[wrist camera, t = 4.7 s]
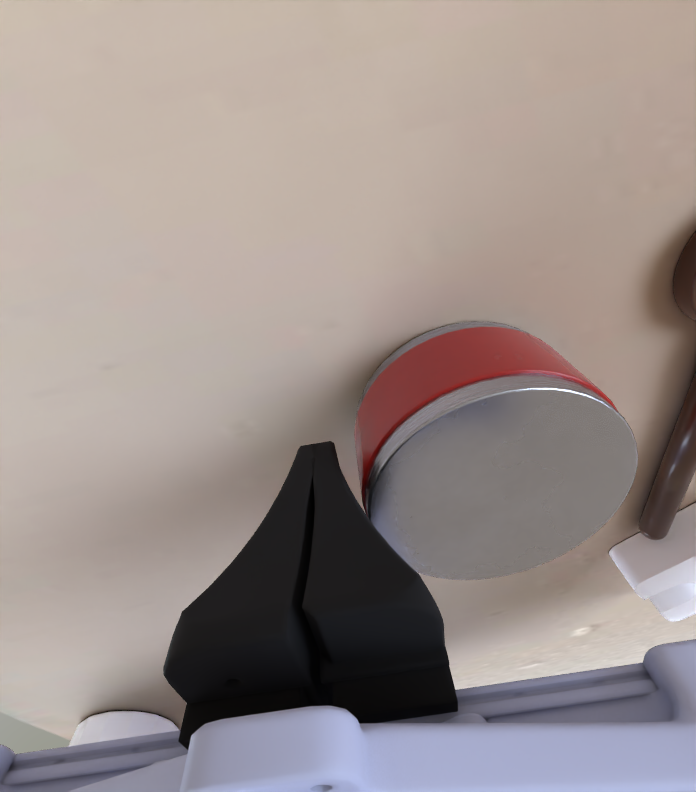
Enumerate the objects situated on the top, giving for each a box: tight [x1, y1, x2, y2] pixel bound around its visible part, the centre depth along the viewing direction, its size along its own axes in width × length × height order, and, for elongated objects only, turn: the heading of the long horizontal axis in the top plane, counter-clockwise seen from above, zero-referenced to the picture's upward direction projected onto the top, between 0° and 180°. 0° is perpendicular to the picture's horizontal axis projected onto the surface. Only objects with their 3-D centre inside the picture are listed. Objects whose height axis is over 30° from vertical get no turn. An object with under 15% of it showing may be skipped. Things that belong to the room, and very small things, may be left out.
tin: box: [354, 321, 638, 580], centre depth 13 cm, size 8×8×4 cm
